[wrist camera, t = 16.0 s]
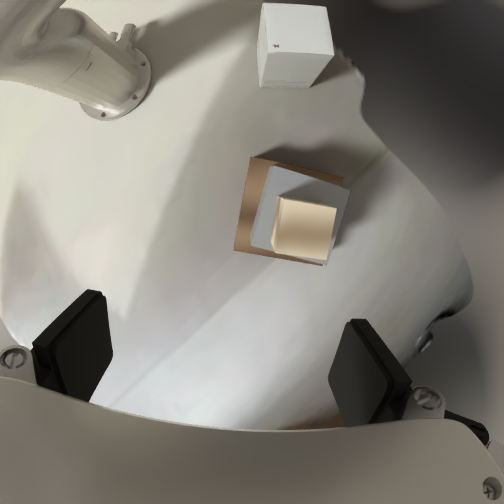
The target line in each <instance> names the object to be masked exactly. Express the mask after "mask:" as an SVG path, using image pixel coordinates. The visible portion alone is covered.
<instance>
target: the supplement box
mask: <svg viewBox="0 0 504 504" xmlns="http://www.w3.org/2000/svg"><path fill="white" fill-rule="evenodd" d="M334 55H335V54H334V47H333V41H332V35H331V30H330V24H329V19H328V15H327V10H326V7H321V6H312V5H300V4H284V3H263V4H262V9H261V16H260V26H259V35H258V43H257V59H258V73H259V85H260V87H293V88H309V87H310V86H311V85H312V83H313V82H314V81H315V79H316V78H317V77H318V76H319V74H320V73H321V72H322V70H323V69H324V68H325V66H326V65H327V64H328V63H329V61H330V60H331V59H332V58H333V56H334Z"/></svg>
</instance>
